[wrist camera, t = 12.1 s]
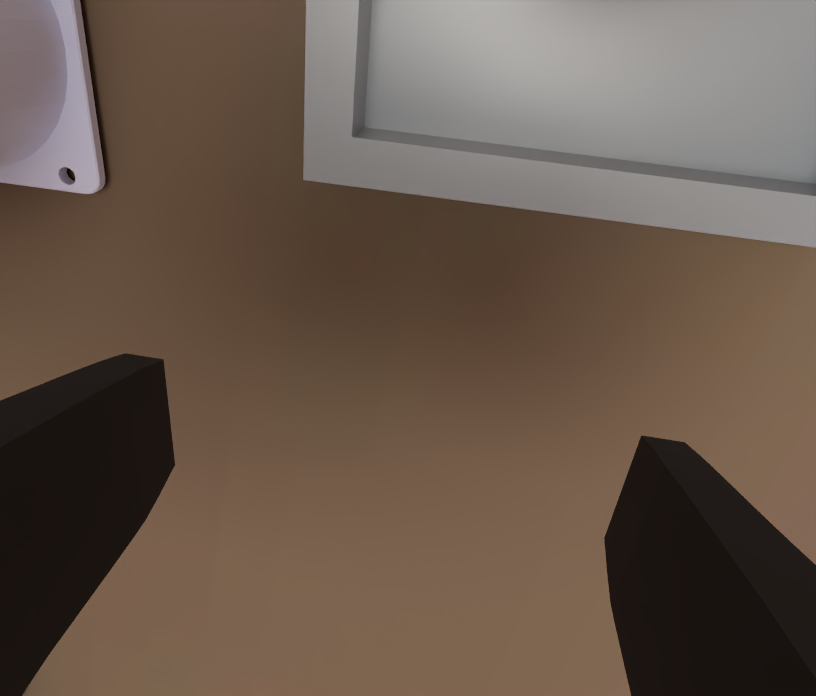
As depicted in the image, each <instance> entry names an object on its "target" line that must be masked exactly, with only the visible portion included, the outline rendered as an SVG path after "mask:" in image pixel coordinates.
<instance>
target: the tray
mask: <svg viewBox="0 0 816 696" xmlns="http://www.w3.org/2000/svg"><path fill="white" fill-rule="evenodd" d="M303 180H308V181H315V182H323V183H330V184H338V185H345V186H353V187H361V188H368V189H376V190H383V191H391V192H399V193H406V194H414V195H421V196H429V197H437V198H444V199H452V200H459V201H467V202H474V203H482V204H490V205H497V206H505V207H512V208H520V209H528V210H535V211H543V212H550V213H558V214H565V215H573V216H581V217H588V218H596V219H603V220H611V221H619V222H626V223H634V224H641V225H649V226H657V227H664V228H672V229H679V230H687V231H694V232H702V233H710V234H717V235H725V236H732V237H740V238H748V239H755V240H763V241H770V242H778V243H785V244H793V245H801V246H808V247H816V0H306V42H305V103H304V165H303Z"/></svg>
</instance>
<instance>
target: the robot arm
mask: <svg viewBox="0 0 816 696" xmlns="http://www.w3.org/2000/svg"><path fill="white" fill-rule="evenodd" d="M67 168H69V169H71V170H72V171H73V172H74V175H75V177H76V178H75V181H73V180H71V179H70V178H69V177H68V174H67ZM0 183H8V184H15V185H22V186H30V187H37V188H44V189H52V190H59V191H67V192H74V193H81V194H93V193H95V192H98V191H99V190H101V189H102V188H103V187H104V185H105V172H104V165H103V158H102V151H101V144H100V137H99V130H98V123H97V116H96V109H95V102H94V95H93V88H92V81H91V74H90V67H89V60H88V53H87V46H86V39H85V32H84V25H83V18H82V11H81V4H80V0H0ZM174 466H175V461H174V452H173V442H172V433H171V424H170V415H169V406H168V397H167V388H166V379H165V370H164V361H163V359H157V358H151V357H144V356H138V355H132V354H122V355H119V356H115V357H112V358H109V359H106V360H103V361H100V362H97V363H95V364H92V365H89V366H87V367H84V368H81V369H79V370H76V371H74V372H71V373H69V374H66V375H63V376H61V377H58V378H56V379H53V380H51V381H48V382H46V383H43V384H41V385H38V386H36V387H33V388H31V389H28V390H26V391H23V392H21V393H18V394H16V395H13V396H11V397H8V398H6V399H3V400H1V401H0V696H22V695H23V693H24V691H25V690H26V688H27V687H28V685H29V684H30V682H31V681H32V679H33V678H34V676H35V675H36V673H37V672H38V670H39V669H40V667H41V666H42V664H43V663H44V661H45V660H46V658H47V657H48V655H49V654H50V652H51V651H52V650H53V648H54V647H55V645H56V644H57V643H58V641H59V640H60V639H61V637H62V636H63V634H64V633H65V632H66V630H67V629H68V628H69V626H70V625H71V623H72V622H73V621H74V619H75V618H76V616H77V615H78V614H79V612H80V611H81V610H82V608H83V607H84V605H85V604H86V603H87V601H88V600H89V599H90V597H91V596H92V594H93V593H94V592H95V590H96V589H97V588H98V586H99V585H100V583H101V582H102V581H103V579H104V578H105V577H106V575H107V574H108V572H109V571H110V570H111V568H112V567H113V565H114V564H115V563H116V561H117V560H118V558H119V557H120V556H121V554H122V553H123V551H124V550H125V549H126V547H127V546H128V544H129V543H130V542H131V540H132V539H133V537H134V536H135V535H136V533H137V532H138V530H139V529H140V527H141V526H142V524H143V523H144V522H145V520H146V518H147V516H148V515H149V513H150V511H151V509H152V507H153V506H154V504H155V502H156V500H157V498H158V497H159V495H160V493H161V491H162V489H163V487H164V485H165V483H166V481H167V479H168V477H169V475H170V473H171V471H172V469H173V467H174ZM604 539H605V551H606V563H607V574H608V584H609V593H610V602H611V607H612V612H613V617H614V621H615V626H616V630H617V635H618V639H619V644H620V648H621V653H622V657H623V661H624V666H625V670H626V674H627V679H628V683H629V687H630V692H631V696H816V565H815V564H814V563H813V562H812V561H811V560H810V559H808V558H807V557H806V556H805V555H804V554H803V553H802V552H801V551H800V550H799V549H798V548H797V547H795V546H794V545H793V544H792V543H791V542H790V541H789V540H788V539H787V538H786V537H785V536H784V535H783V534H782V533H781V532H780V531H778V530H777V529H776V528H775V527H774V526H773V525H772V524H771V523H770V522H769V521H768V520H767V519H766V518H765V517H764V516H763V515H762V514H761V513H760V512H759V511H757V510H756V509H755V508H754V507H753V506H752V505H751V504H750V503H749V502H748V501H747V500H746V499H745V498H744V497H743V496H742V495H741V494H740V493H739V492H738V491H737V490H736V489H735V488H734V487H733V486H732V485H731V484H730V483H728V482H727V481H726V480H725V479H724V478H723V477H722V476H721V475H720V474H719V473H718V472H717V471H716V470H715V469H714V468H713V467H712V466H711V465H710V464H709V463H707V462H706V461H705V460H704V459H703V458H702V457H701V456H700V455H699V454H698V453H696V452H695V451H694V450H693V449H692V448H691V447H689V446H688V445H687V444H686V443H685V442H679V441H672V440H666V439H660V438H654V437H647V436H641V438H640V441H639V444H638V447H637V449H636V452H635V455H634V458H633V460H632V463H631V466H630V469H629V471H628V474H627V477H626V480H625V483H624V485H623V488H622V491H621V494H620V496H619V499H618V502H617V505H616V507H615V510H614V513H613V516H612V519H611V521H610V524H609V527H608V530H607V532H606V535H605V538H604Z"/></svg>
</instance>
